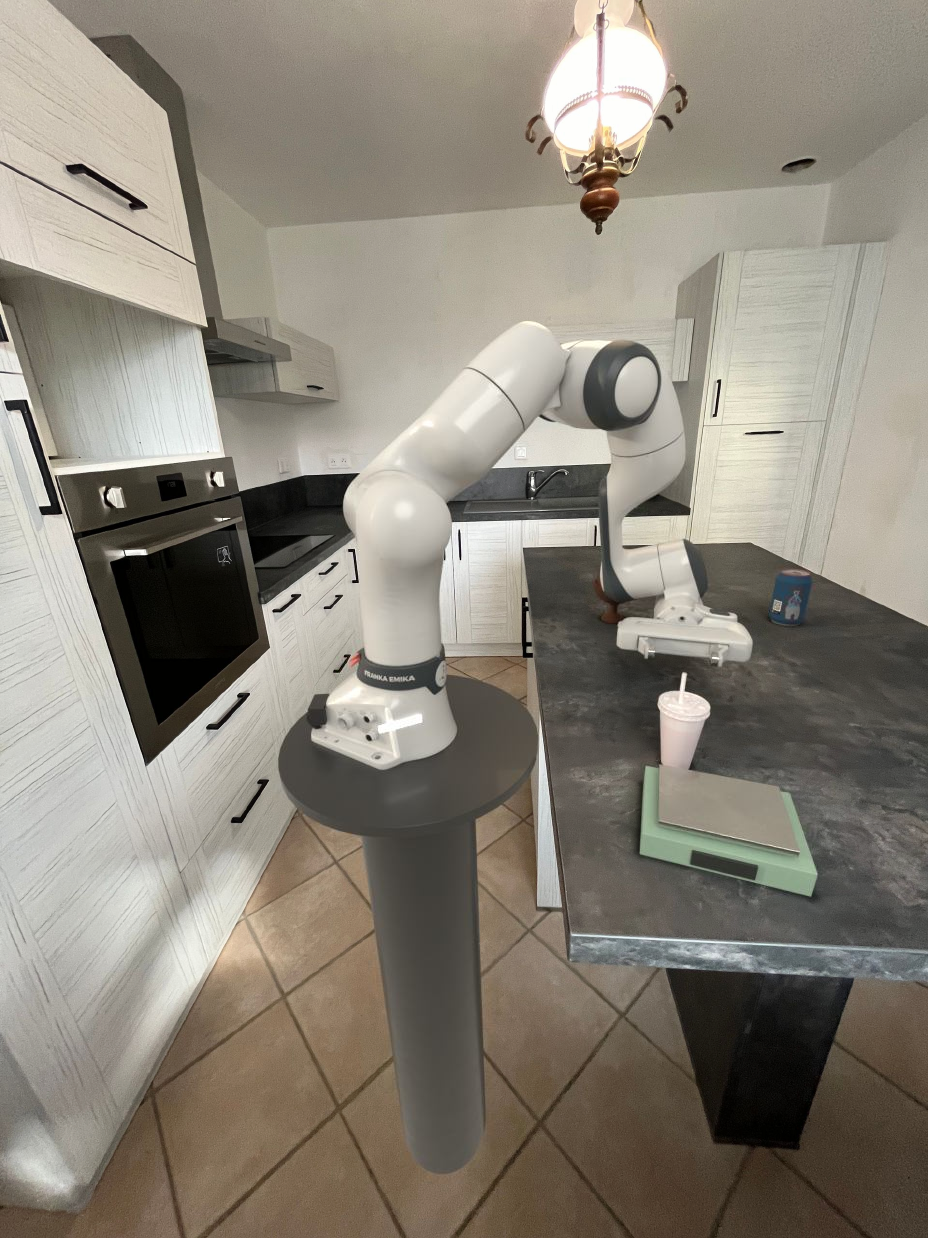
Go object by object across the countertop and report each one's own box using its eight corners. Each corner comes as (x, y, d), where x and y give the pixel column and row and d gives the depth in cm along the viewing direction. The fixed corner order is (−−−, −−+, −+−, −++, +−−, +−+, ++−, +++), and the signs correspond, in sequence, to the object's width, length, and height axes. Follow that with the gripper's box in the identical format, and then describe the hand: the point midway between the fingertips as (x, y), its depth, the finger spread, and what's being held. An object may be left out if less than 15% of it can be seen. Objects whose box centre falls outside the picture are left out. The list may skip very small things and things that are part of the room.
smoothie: (641, 752, 70) (651, 665, 65) (681, 745, 71) (694, 659, 66) (668, 781, 64) (681, 687, 59) (711, 773, 65) (727, 681, 60)
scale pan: (657, 826, 52) (658, 820, 52) (658, 769, 61) (659, 764, 61) (798, 858, 48) (800, 852, 48) (777, 792, 57) (779, 786, 56)
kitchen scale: (639, 856, 53) (642, 835, 52) (643, 784, 64) (645, 765, 63) (812, 900, 48) (819, 877, 47) (784, 812, 58) (789, 792, 57)
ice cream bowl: (610, 608, 126) (615, 551, 121) (646, 621, 117) (652, 560, 112) (580, 617, 121) (583, 558, 116) (615, 631, 112) (620, 567, 107)
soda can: (783, 614, 118) (794, 566, 113) (810, 624, 111) (822, 574, 107) (760, 618, 116) (770, 569, 112) (785, 628, 110) (797, 577, 105)
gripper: (619, 604, 89) (613, 632, 77) (746, 614, 82) (761, 647, 70) (617, 636, 91) (610, 668, 79) (740, 648, 84) (753, 686, 72)
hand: (682, 658), depth 74 cm, fingers open, 8 cm apart
